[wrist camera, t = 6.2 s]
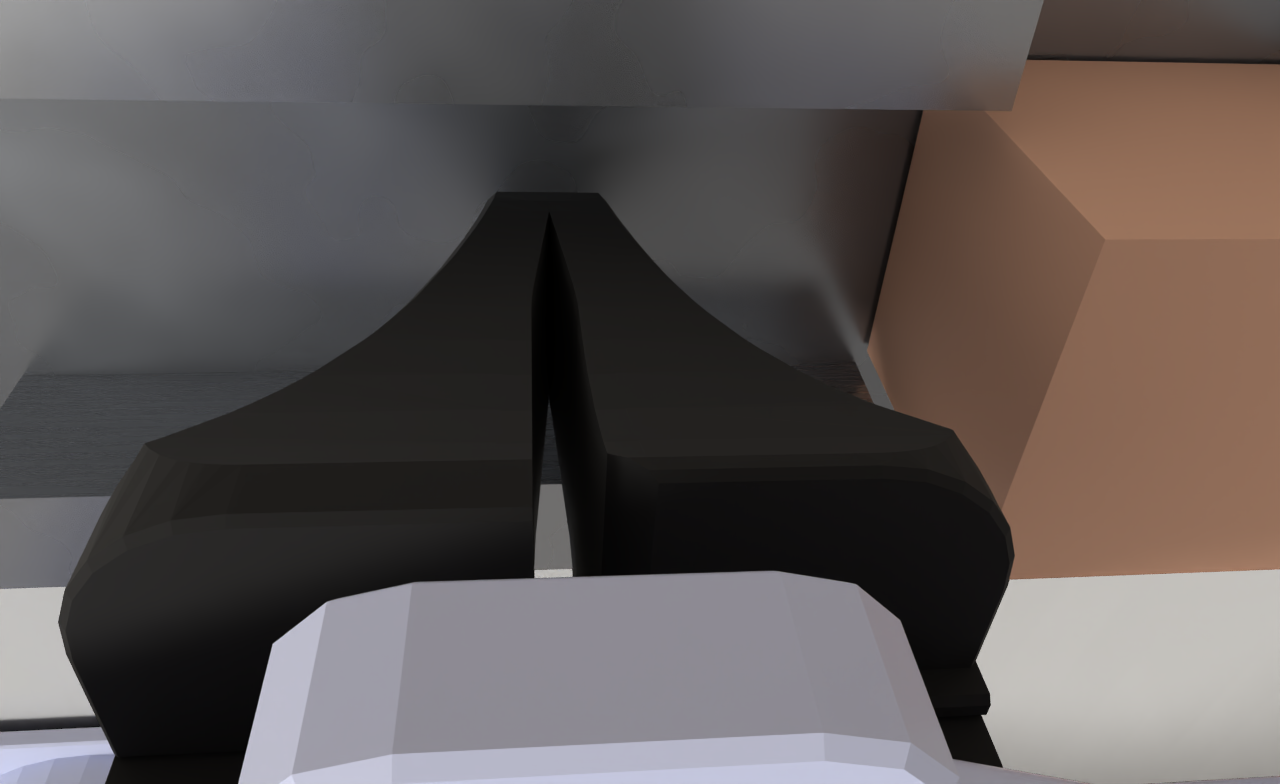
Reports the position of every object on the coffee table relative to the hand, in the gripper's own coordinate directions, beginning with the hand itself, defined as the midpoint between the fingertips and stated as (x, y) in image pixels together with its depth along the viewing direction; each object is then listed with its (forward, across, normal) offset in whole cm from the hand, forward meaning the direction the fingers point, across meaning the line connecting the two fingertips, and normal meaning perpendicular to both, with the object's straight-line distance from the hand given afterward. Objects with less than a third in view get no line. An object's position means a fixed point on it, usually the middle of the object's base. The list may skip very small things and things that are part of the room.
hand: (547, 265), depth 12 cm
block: (+1, -7, 0) cm, 7 cm away
